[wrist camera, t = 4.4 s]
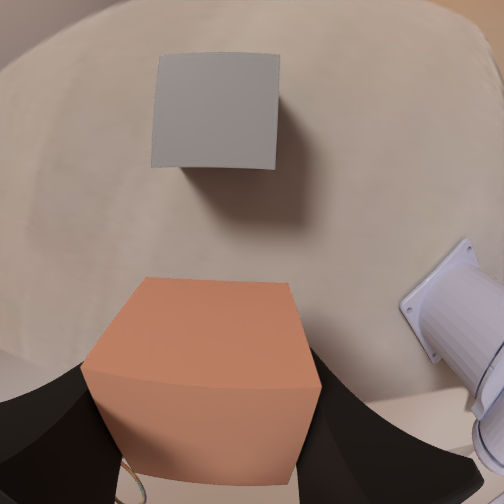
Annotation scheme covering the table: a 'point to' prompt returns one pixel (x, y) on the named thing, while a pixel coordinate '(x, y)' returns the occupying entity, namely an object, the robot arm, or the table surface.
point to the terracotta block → (206, 381)
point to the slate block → (216, 110)
